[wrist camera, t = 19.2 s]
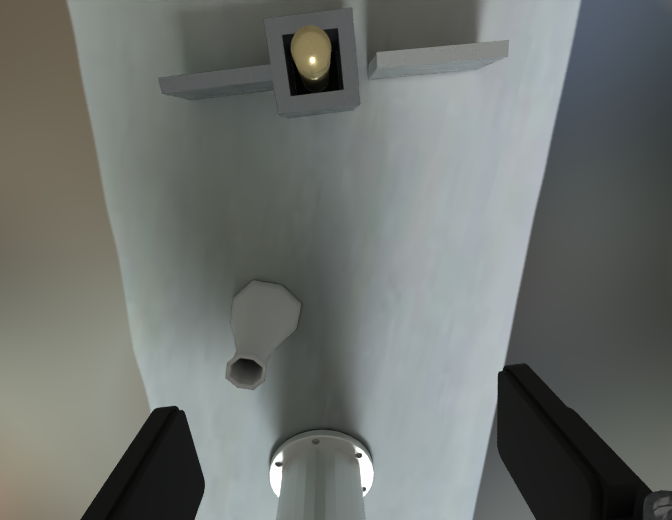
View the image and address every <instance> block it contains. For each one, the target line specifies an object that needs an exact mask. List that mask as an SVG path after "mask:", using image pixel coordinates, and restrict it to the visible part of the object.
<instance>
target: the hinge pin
mask: <svg viewBox="0 0 672 520" xmlns="http://www.w3.org/2000/svg"><path fill="white" fill-rule="evenodd" d="M291 53H292V56H293V59H294V61H295V64H296V66H297V69H298V71H299V73H300V76H301V78H302V81H303V83H304V85H305V87H306V88H307V89H308V90H309V91H311V92H321V91H323V90H324V89H325V88H326V86H327V85H328V81H329V70H330V58H331V43H330V40H329V37H328V36H327V34H326V33H325V32H324V31H323V30H322V29H321V28H319V27H317V26H313V25H308V26H304V27H302V28H300V29H299V30H298V31H297V32H296V33H295V35H294V36H293V39H292V42H291Z"/></svg>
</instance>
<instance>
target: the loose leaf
mask: <svg viewBox="0 0 672 520" xmlns="http://www.w3.org/2000/svg"><path fill="white" fill-rule="evenodd" d="M508 48H509V40H504V41H493V42H482V43H471V44H460V45H449V46H438V47H427V48H416V49H405V50H395V51H384V52H376V54H375V55H374V57H373V59H372V60H371V62H370V63H369V65H368V79H380V78H391V77H402V76H413V75H424V74H435V73H446V72H456V71H467V70H477V69H479V68H482V67H484V66H487V65H489V64H491V63H494V62H496V61H499V60H501V59H503V58H506V57H508Z"/></svg>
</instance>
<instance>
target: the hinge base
mask: <svg viewBox="0 0 672 520" xmlns="http://www.w3.org/2000/svg"><path fill="white" fill-rule="evenodd" d="M264 25H265V32H266V38H267V45H268V51H269V58H270V64H267V65H259V66H251V67H243V68H235V69H227V70H219V71H210V72H202V73H194V74H186V75H178V76H170V77H162V78H158V79H159V83H160V87H161V91H162V94H166V95H170V96H174V97H179V98H183V99H187V100H196V99H204V98H212V97H220V96H229V95H237V94H245V93H253V92H261V91H270V90H275V96H276V103H277V109H278V114H279V115H282V116H285V117H287V118H292V117H300V116H308V115H317V114H325V113H333V112H341V111H350V110H354V109H355V108H356V107H357V106H359V105H360V96H359V84H358V72H357V60H356V48H355V36H354V24H353V12H352V8H344V9H336V10H328V11H320V12H312V13H304V14H296V15H288V16H280V17H272V18H264ZM308 25H313V26H317V27H319V28H321V29H322V30H323V31H324V32H325V33H326V34H327V36H328V37H329V40H330V43H331V52H332V51H335V52H336V62H337V72H338V82H339V90H338V91H330V92H322V93H314V94H305V95H297V91H296V84H295V77H294V69H293V62H292V53H291V42H292V39H293V36H294V35H295V33H296V32H297V31H298V30H299V29H300V28H302V27H304V26H308Z"/></svg>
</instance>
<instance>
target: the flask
mask: <svg viewBox="0 0 672 520" xmlns="http://www.w3.org/2000/svg"><path fill="white" fill-rule="evenodd" d="M300 309H301V303H300V302H299V301H298V300H297V299H296V298H295V297H294V296H293V295H292V294H291V293H290V292H289V291H287V290H286V289H285V288H284V287H283V286H282V285H279V284H273V283H267V282H261V281H255V280H252V281H251V282H250V283H249V284H248V285H247V286H246V287H245V288H243V289H242V290H241V291H240V292H239V293H238V294H237V295H236V296H235V297H234V298H233V303H232V313H231V322H230V323H231V328H232V331H233V335H234V340H235V345H236V353H235V355H234V357H233V358H232V359H231V360H229V361H228V362H227V368H226V377H225V378H226V379H227V380H229V381H230V382H231V383H232V384H234V385H235V386H236V387H237V388H244V389H251V390H254V389H255V388H256V387H258V386H259V385H260V384H261V383H263V382H264V381H265V378H266V371H267V363H266V362H267V360H268V359H269V357H270V355H271V354H272V352H273V351H274V350H275V349H276V348H277V347H278V346H279V345H280V344H281V343H282V342H283V341H284V340H285V339H286V338H287V337H288V336H289V335H291V334H292V333H293V332H294V331H295V330H296V329H297V326H298V321H299V315H300Z"/></svg>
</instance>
